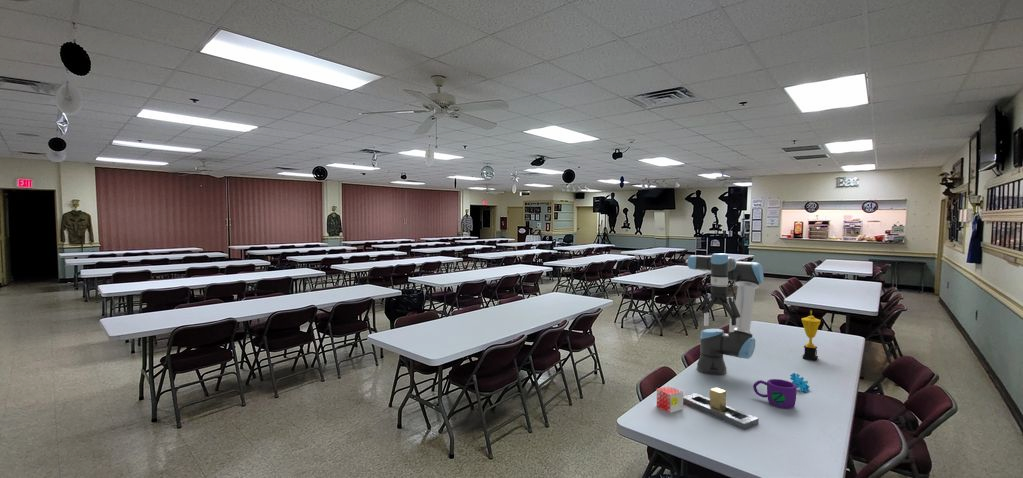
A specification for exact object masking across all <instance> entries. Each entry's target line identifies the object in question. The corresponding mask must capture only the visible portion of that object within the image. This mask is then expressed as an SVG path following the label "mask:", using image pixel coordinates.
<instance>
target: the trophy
mask: <svg viewBox="0 0 1023 478" xmlns="http://www.w3.org/2000/svg"><path fill="white" fill-rule="evenodd" d="M812 314H813V310H810V315H808V316H806V317H802V318H801V323H802V325H803V329H804V332H805V335H806V337H807V338H808V340H809V341H808V342H807V343H806V344H804V346H803V348H804V351H803V352H804V353H803V354H802V359H804V360H808V361H815V362H817V361H818V359H819V355H818V346H815V344H814V343H813V338H815V337H816V335H817V332H818V330H819V329H818V328H819V326H820V325H821V319H818V318H816V317H815V316H814V315H812Z"/></svg>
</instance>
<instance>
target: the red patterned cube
mask: <svg viewBox="0 0 1023 478" xmlns="http://www.w3.org/2000/svg"><path fill="white" fill-rule="evenodd" d="M683 397H684V391H682V390H680V389H678V388H675V387H673V386H671V385H667V386H663V387H659V388H656V407H658V408H660V409H662V410H664V411H667V412H668V413H669V414H671V413H674V412H678V411H681V410H683V409H684V403H683Z"/></svg>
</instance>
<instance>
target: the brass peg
mask: <svg viewBox="0 0 1023 478" xmlns="http://www.w3.org/2000/svg"><path fill="white" fill-rule="evenodd" d="M709 399H710V407H712V408H714V409H716V410H719V411H721V412H723V413H724V412H726V405H727V391H726V390H725V389H721V388H719V387H714V388H713V387H712V388H711V389H709Z"/></svg>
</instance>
